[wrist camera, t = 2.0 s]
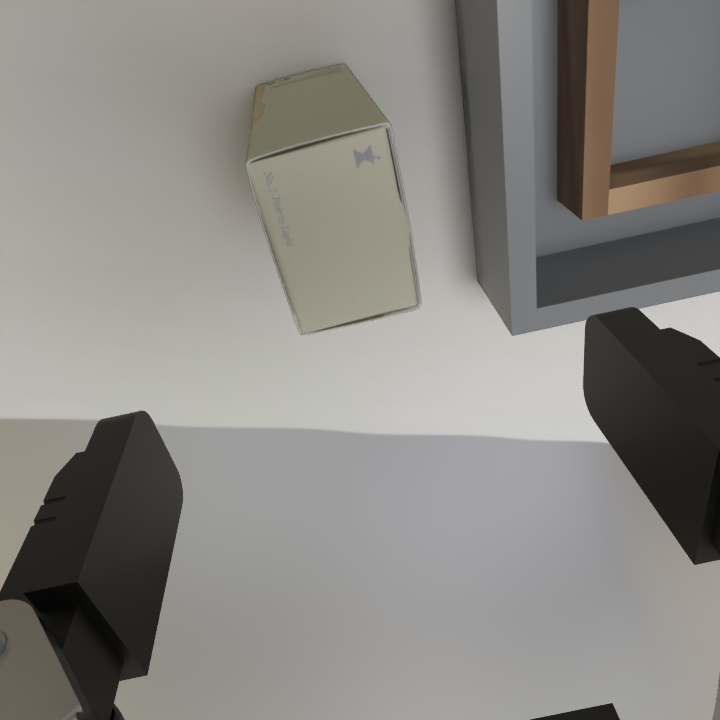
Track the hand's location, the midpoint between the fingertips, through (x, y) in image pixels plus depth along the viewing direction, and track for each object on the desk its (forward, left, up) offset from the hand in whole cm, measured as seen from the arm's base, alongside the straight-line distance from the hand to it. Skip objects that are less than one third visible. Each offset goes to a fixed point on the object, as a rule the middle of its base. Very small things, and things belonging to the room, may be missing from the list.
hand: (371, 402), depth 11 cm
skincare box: (0, 0, -21) cm, 21 cm away
